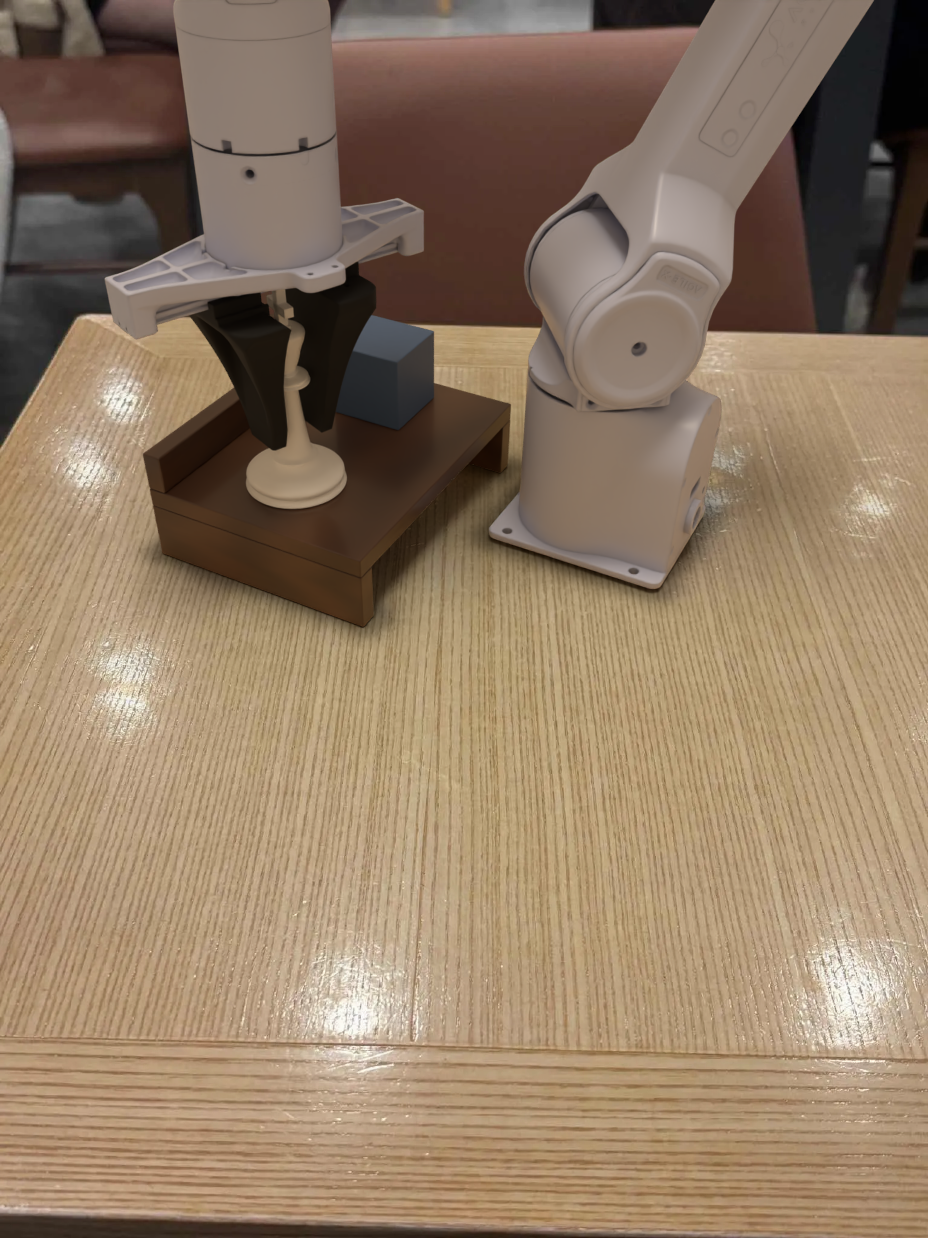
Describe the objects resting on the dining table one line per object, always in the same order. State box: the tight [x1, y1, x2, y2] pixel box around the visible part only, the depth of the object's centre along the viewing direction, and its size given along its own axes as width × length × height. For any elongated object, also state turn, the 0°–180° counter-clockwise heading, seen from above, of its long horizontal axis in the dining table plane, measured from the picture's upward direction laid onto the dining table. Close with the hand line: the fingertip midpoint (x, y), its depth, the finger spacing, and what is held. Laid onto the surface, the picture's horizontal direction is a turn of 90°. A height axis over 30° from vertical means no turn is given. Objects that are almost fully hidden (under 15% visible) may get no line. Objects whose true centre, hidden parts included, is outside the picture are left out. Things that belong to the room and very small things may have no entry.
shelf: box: [142, 382, 512, 628], centre depth 57 cm, size 12×16×6 cm
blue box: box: [336, 314, 435, 430], centre depth 58 cm, size 4×4×4 cm
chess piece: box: [246, 289, 347, 509], centre depth 51 cm, size 5×5×10 cm
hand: (292, 431), depth 52 cm, fingers closed on chess piece, 2 cm apart
